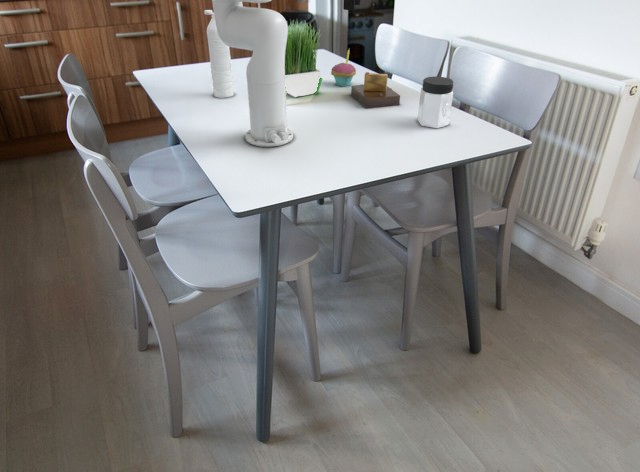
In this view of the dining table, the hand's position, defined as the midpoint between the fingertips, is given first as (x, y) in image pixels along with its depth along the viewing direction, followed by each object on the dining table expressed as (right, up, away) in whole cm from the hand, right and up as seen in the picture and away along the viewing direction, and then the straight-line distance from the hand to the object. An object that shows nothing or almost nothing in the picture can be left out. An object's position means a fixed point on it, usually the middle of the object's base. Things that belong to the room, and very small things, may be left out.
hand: (351, 7), depth 152 cm
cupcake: (-2, -17, +22) cm, 28 cm away
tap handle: (+8, -23, +7) cm, 25 cm away
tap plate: (+8, -26, +8) cm, 28 cm away
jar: (+23, -37, -9) cm, 44 cm away
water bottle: (-42, -23, +13) cm, 49 cm away
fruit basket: (-15, -23, +13) cm, 30 cm away
